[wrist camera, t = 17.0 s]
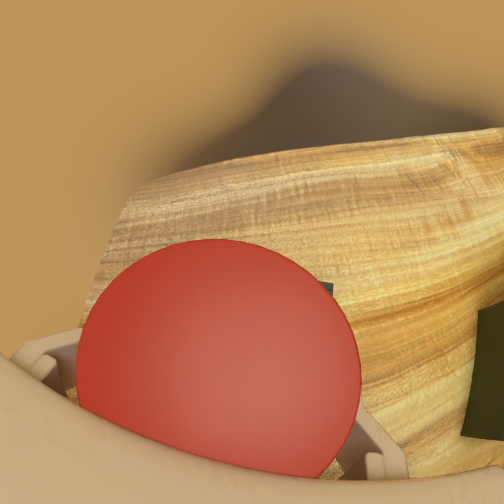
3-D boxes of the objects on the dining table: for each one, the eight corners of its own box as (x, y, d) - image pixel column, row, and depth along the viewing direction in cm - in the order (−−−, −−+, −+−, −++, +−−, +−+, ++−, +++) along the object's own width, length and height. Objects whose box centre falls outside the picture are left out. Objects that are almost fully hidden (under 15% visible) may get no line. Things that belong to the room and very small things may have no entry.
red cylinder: (271, 433, 14) (331, 522, 4) (161, 411, 14) (60, 462, 4) (290, 328, 17) (374, 265, 7) (183, 307, 17) (117, 216, 7)
